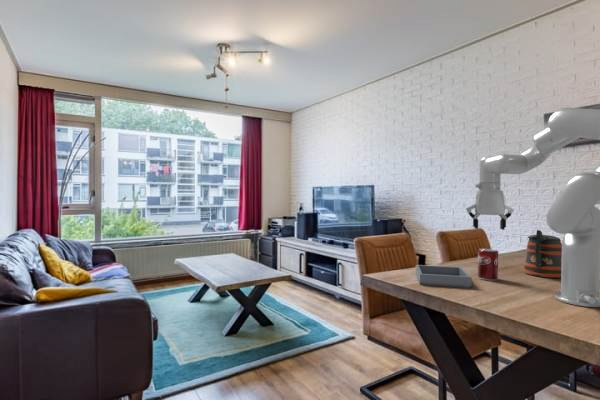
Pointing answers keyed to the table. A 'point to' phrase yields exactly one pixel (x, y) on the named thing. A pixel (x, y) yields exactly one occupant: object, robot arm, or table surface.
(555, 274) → the beer stein
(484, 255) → the soda can
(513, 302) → the table surface
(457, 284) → the tray
